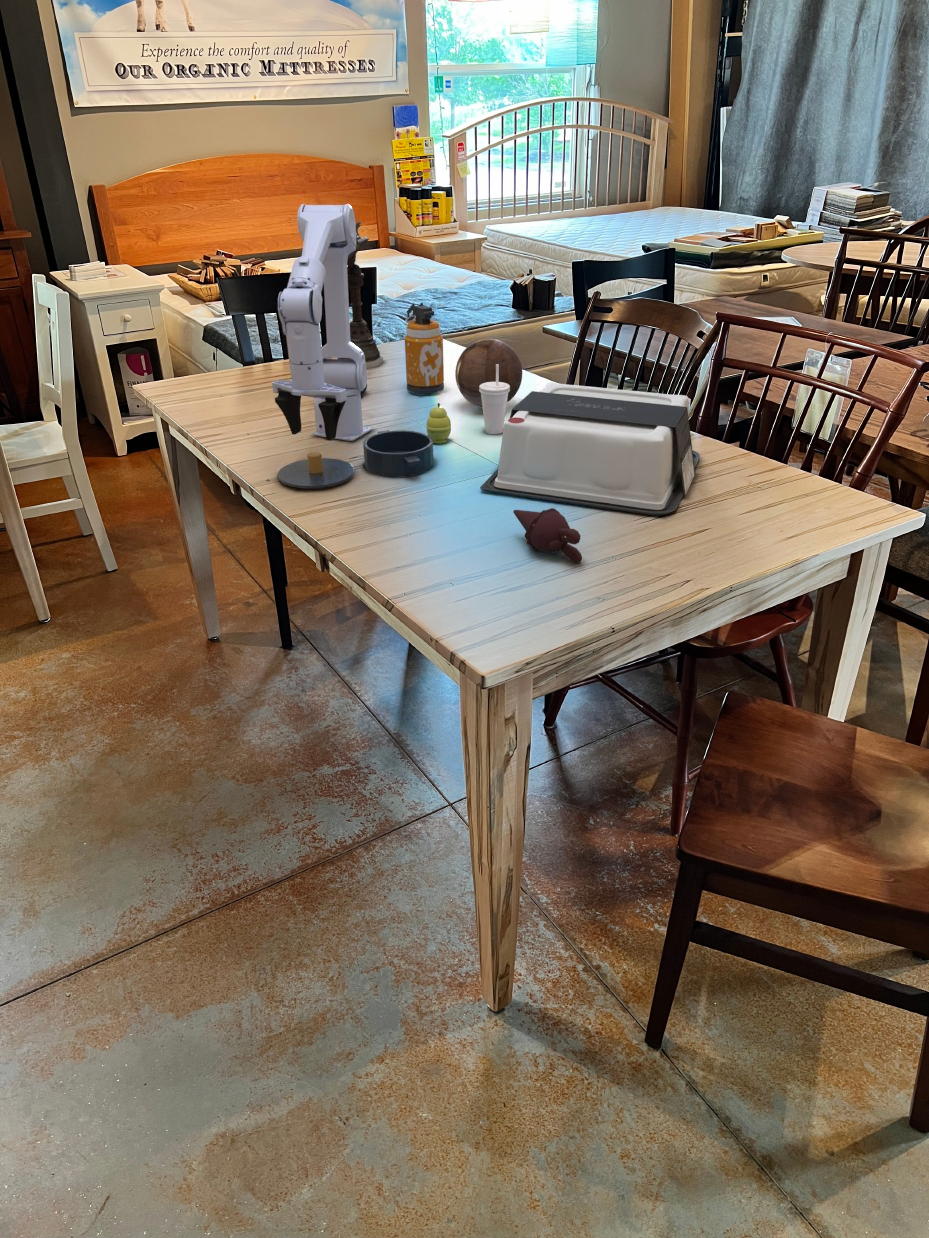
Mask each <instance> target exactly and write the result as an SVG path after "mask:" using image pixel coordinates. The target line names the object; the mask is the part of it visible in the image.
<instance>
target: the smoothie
mask: <svg viewBox="0 0 929 1238" xmlns="http://www.w3.org/2000/svg"><path fill="white" fill-rule="evenodd" d="M479 391H480V392H481V399H482V406H483V408H482V413H483V423H484V429H485V433H486V434H490V435H499V434H503V429H504V424H505V419H506V413H507V412H506V411H507V405H508V402H507V398H508V392H509V391H510V386H509V385H508V384H507V383H503V382H499V365H498V364H497V365H496V382H486V383H483V384H481V385H480V386H479Z"/></svg>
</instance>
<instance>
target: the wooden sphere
mask: <svg viewBox="0 0 929 1238" xmlns="http://www.w3.org/2000/svg"><path fill="white" fill-rule="evenodd" d="M497 364H498V365H499V382H503V383H507V384H508V385H509V386H510V391H509V392H508V398H507V403H509V402H510V401H511V400H513V398H514V397H515V396H516V394H517V393H518V392H519V389H520V387H521V384H522V381H523V366H522V362H521V359H520V357H519V355H518V353H517V352H516V351H515V349H513V347H512V346H511V345H510V344H507V343H505V342H504V341H502V340H499V339H495V338H484V339H479V340H477V341H473V342H472V343H471V344H469V345H468V346H466V348H464V350H463V351H462V353H461V354H460V355H459V357H458V360H457V361H456V366H455V371H454V372H455V375H454V376H455V383H456V385H457V389H458V390H459V392H460V394H461V396H462V397H463V398H464V399H465V400H466V401H467V402H468V403H470V404H471V405H473V406H475V407H477V408H481V409H483V406H482V399H481V392H480V391H479V386H480V385H481V384H483V383H486V382H496V365H497Z"/></svg>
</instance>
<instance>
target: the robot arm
mask: <svg viewBox="0 0 929 1238" xmlns="http://www.w3.org/2000/svg"><path fill="white" fill-rule="evenodd" d="M296 215H297V216H296V221H297V223H296V225H297V231H298V234H299V236H300V238H301V241H302V242H303V244H302V252H301V256H299V257H297V258H296V259H295V260H294V261H293V264H292V268H291V271H290V274H289V278H288V282H287V286H286V288H284V289H283V291H279V293H278V297H277V312H278V318H279V321H280V322H281V323H280V324H281V327H282V333H283V335H284V336H285V337H286V345H287V353H288V363H289V370H290V371H289V372H290V379H291V380H286V379H285V380H283V379H277V380H275V381H272V382H271V385H272V386H271V387H272V394H277V396H276V397H274V403H275V404H276V405H277V406H278V408H279V409H280V411H281V412H282V414H283V416H284V418H285V420H286V422H287V425H288V427H289V429H290V432H291V435H296V434H299V433H301V432H302V418H301V417H302V416H301V402H302V401H301V400H302V397H309V398H314V400H313V409H314V410H313V411H314V420H315V430H316V432H314V436H318V437H323V438H325V439H326V441H332V440H334V439H335V440H340V441H341V440H342V441H349V442H354V441H355V440H357V439H359V438H361V437H362V436H364V435H365V434H367V433H369V432H371V431H372V428H371V427H367V426H364V425H363V424H364V423H363V410H362V409H363V408H362V397H361V396H362V395H360V392H361V391H363V390H364V389H365V387H366V384H367V385H368V368H367V367H366V363H365V355H364V352H363V351H362V350H361V349H359V348H358V347H357V346H356V345H354V344H353V343H352V342H351V341H350V322H351V321H350V302H349V287H348V277H347V267H348V266H347V260H348V254H349V253H351V252H353V251H355V250H356V223H357V222H356V217H355V212H354V209H353V207H352V206H351V205H350V204H349V203H345V204H306V203H302V204H300V206H299V207H298V210H297V214H296ZM322 263H323V264H322ZM322 291H323V294H324V310H325V311H324V312H325V329H326V330H325V331H326V343H325V344H324V345H323V346H322V343H321V332H320V323H321V321H322V315H323V296H322ZM338 358H351V359H338ZM352 359H353V360H352Z"/></svg>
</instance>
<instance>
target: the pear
mask: <svg viewBox="0 0 929 1238" xmlns="http://www.w3.org/2000/svg"><path fill="white" fill-rule="evenodd" d="M425 423H426V435H428V436H430V437H431V438H432V440H433V444H439V445H440V444H445V443H447V442H448V438H449V437H450V435H451V431H452V423H451V419H450V417H449V416H448V413H447V411H446V409H445V408H444V407H443V406H441V403H440V402H438V403H437V406H434V407H432V409H431V410H430V412H429V416H428V417H427V419H426V422H425Z"/></svg>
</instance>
